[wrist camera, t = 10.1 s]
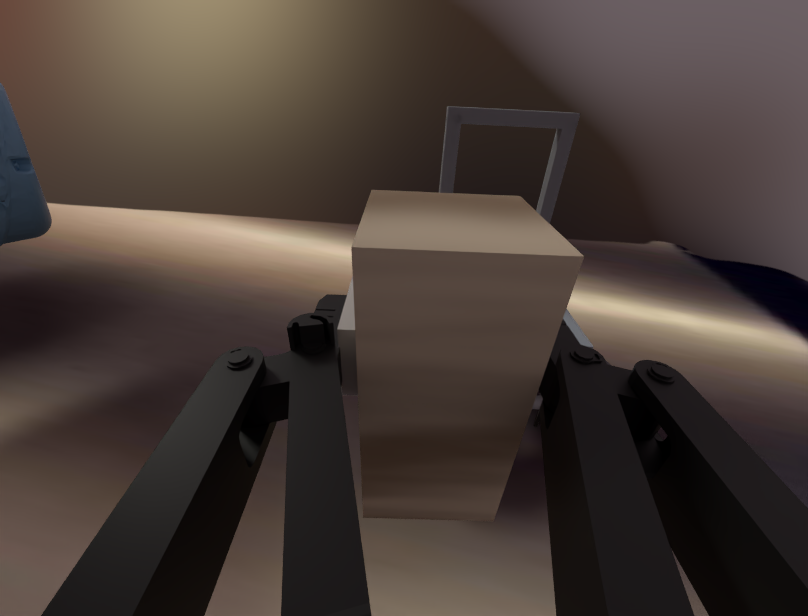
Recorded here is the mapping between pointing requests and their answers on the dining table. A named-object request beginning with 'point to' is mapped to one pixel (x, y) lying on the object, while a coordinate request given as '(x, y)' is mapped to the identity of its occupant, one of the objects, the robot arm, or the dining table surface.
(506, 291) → the block
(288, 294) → the dining table surface
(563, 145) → the trolley
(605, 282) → the dining table surface
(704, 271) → the dining table surface
